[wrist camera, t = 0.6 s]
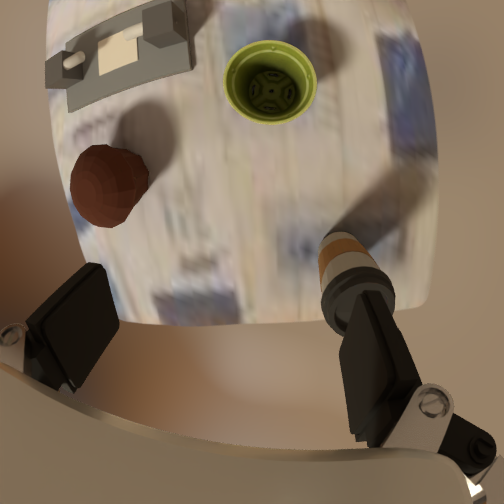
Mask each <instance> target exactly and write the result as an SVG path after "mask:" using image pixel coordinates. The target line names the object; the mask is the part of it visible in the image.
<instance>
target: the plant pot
mask: <svg viewBox="0 0 504 504" xmlns="http://www.w3.org/2000/svg"><path fill="white" fill-rule="evenodd" d="M269 74H277V75H278V76H279V77H275V76H268V75H269ZM253 85H255V86H256V87H255V90H254V94H252V87H253ZM223 88H224V92H225V95H226V98H227V100H228V101H229V103H230V105H231V106H232V107H233V108H234V109H235V111H237V112H238V113H239V114H240V115H242V116H243V117H245V118H246V119H248V120H251V121H253V122H256V123H260V124H267V125H275V124H282V123H286V122H289V121H291V120H294V119H295V118H297V117H299V116H300V115H302V114H303V113H304V112H305V111H306V110H307V109H308V108H309V106H310V105H311V103H312V102H313V100H314V97H315V94H316V90H317V78H316V73H315V70H314V67H313V65H312V63H311V62H310V60H309V59H308V58H307V57H306V55H305V54H304V53H303V52H301V51H300V50H299V49H298V48H296V47H294V46H292V45H290V44H288V43H285V42H281V41H275V40H263V41H258V42H254V43H251V44H249V45H247V46H245V47H243V48H242V49H240V50H239V51H238V52H236V53H235V54H234V55H233V56H232V58H231V59H230V60H229V62H228V64H227V66H226V68H225V71H224V75H223ZM289 89H290V90H291V91H292V93H291V97H290V99H288V94H289ZM270 90H273V91H274V92H273V93H270V92H269V91H270ZM265 106H266V107H272V108H273V107H274V108H275V109H274V110H272V109H269V110H267V109H265V108H264V107H265Z"/></svg>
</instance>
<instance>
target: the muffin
mask: <svg viewBox="0 0 504 504" xmlns="http://www.w3.org/2000/svg"><path fill="white" fill-rule="evenodd" d="M148 176H149V171H148V169H147V168H146V166H145V165H144V162H143V160H142V158H141V156H139V155H137V154H134V153H132V152H130V151H129V150H127V149H117V148H112V147H110V146H108V145H107V144H104V145H92V146H90V147H89V148H88V149H86V150H85V151H84V152H82V153H81V154H80V156H79V158H78V159H77V161H76V163H75V166H74V168H73V170H72V173H71V180H70V192H71V196H72V200H73V203H74V205H75V207H76V209H77V210H78V212H79V213H80V215H81V216H82V217H83V218H85V219H86V220H87V221H89V222H90V223H91V224H93V225H95V226H98V227H106V228H113V227H115V226H117V225H119V224H121V223H123V222H124V221H125V220H126V218H127V217H128V215H129V214H130V212H131V210H132V209H133V207H134V206H135V205H136V204H137V203H138V201H139V200H140V198H141V197H142V195H143V194H144V193H145V192H146V191H147V190H148Z"/></svg>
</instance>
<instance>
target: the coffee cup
mask: <svg viewBox="0 0 504 504" xmlns="http://www.w3.org/2000/svg"><path fill="white" fill-rule="evenodd" d="M318 257H319V259H318V263H319V274H320V285H321V292H322V299H321V308H322V312H323V315H324V317H325V320H326V322H327V323H328V325H330V327H331V328H332V329H333V330H334V331H335V332H336V333H337V334H339V335H341V336H343V337H344V335H345V332H346V329H347V326H348V323H349V320H350V317H351V313H352V310H353V307H354V303H355V300H356V297H357V295H358V294H362V292H363V290H378V291H380V292H381V294H382V296H383V298H384V300H385V302H386V304H387V306H388V308H389V310H390V313H391V315H393V312H394V309H395V292H394V288H393V286H392V283H391V281H390V279H389V277H388V276H387V275H386V274H385V273H384V272H382V271H381V270H380V268H379V267H378V265H377V264H376V262H375V261H374V259H373V258H372V257H371V255H370V254H369V253H368V252H367V250H366V249H365V248H364V247H363V246H362V244H360V243H359V242H358V240H357V239H356V238H355V237H354V236H353V235H351V234H349V233H347V232H334V233H332V234H330V235H328V236H327V237H325V238H324V239H323V241H322V242H321V244H320V246H319V249H318Z"/></svg>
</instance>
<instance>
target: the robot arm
mask: <svg viewBox="0 0 504 504" xmlns="http://www.w3.org/2000/svg"><path fill="white" fill-rule="evenodd" d="M26 324H27V325H28V328H29V330H28V331H26V329H25V328H24V326H23V325H21V324H12V325H9V326H7V327H5V328H4V329H3V330H2V331H1V332H0V504H504V458H503V457H502V456H501V455H499V456H498V457H496V444H495V441H494V439H493V437H492V436H491V435H489V433H487V432H485V431H484V430H482V429H480V428H479V427H477V426H475V425H473V424H472V423H470V422H468V421H466V420H465V419H463V418H461V417H460V416H458V415H456V414H454V413H453V410H454V403H453V399H452V397H451V395H450V394H449V392H448V391H447V390H446V389H444V388H443V387H441V386H439V385H436V384H424V385H422V382H421V379H420V377H419V374H418V372H417V369H416V367H415V364H414V362H413V359H412V357H411V354H410V352H409V350H408V347H407V345H406V343H405V340H404V338H403V336H402V333H401V331H400V330H399V329H398V328H397V326H396V323H395V321H394V319H393V317H392V315H391V313H390V310H389V308H388V306H387V304H386V302H385V300H384V298H383V296H382V294H381V292H380V291H378V290H363V292H362V294H358V295H357V297H356V300H355V303H354V307H353V310H352V313H351V317H350V320H349V323H348V326H347V329H346V332H345V335H344V338H343V341H342V345H341V347H340V351H339V359H340V366H341V372H342V378H343V384H344V391H345V397H346V404H347V411H348V419H349V427H350V432H351V434H355V438H356V442H362V441H367V446H368V447H369V448H365V449H341V450H292V449H271V448H259V447H250V446H241V445H233V444H225V443H220V442H213V441H208V440H202V439H197V438H192V437H188V436H183V435H179V434H174V433H170V432H166V431H162V430H159V429H155V428H152V427H148V426H145V425H141V424H138V423H135V422H132V421H129V420H126V419H123V418H120V417H117V416H114V415H112V414H109V413H106V412H104V411H101V410H99V409H96V408H94V407H91V406H89V405H86V404H84V403H81V402H79V401H77V400H75V399H73V398H70V397H68V396H66V395H64V394H62V393H60V389H59V388H60V387H61V386H62V387H63V389H64V390H66V391H68V392H70V393H73V394H74V393H75V392H76V390H77V388H80V387H81V386H82V384H83V383H84V381H85V380H86V378H87V376H88V375H89V373H90V372H91V370H92V369H93V367H94V365H95V364H96V362H97V361H98V359H99V358H100V356H101V355H102V353H103V352H104V350H105V348H106V347H107V346H108V344H109V343H110V341H111V340H112V338H113V337H114V335H115V334H116V332H117V331H118V329H119V319H118V315H117V312H116V308H115V305H114V301H113V297H112V294H111V290H110V286H109V281H108V277H107V273H106V270H105V269H104V268H103V266H102V265H101V264H98V263H91V262H88V263H86V264H85V265H84V266H83V267H82V268H80V269H79V270H78V271H77V272H76V273H75V274H74V275H73V276H71V278H69V279H68V280H67V281H66V282H65V283H64V284H63V285H62V286H61V287H59V288H58V290H56V291H55V292H54V293H53V294H52V295H51V296H50V297H49V298H48V299H47V300H46V301H45V302H44V303H43V304H42V305H41V306H40V307H39V308H38V309H37V310H36V311H35V312H34V313H33V314H32V315H31V316H30V317H29V318H28V319H27V320H26Z"/></svg>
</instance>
